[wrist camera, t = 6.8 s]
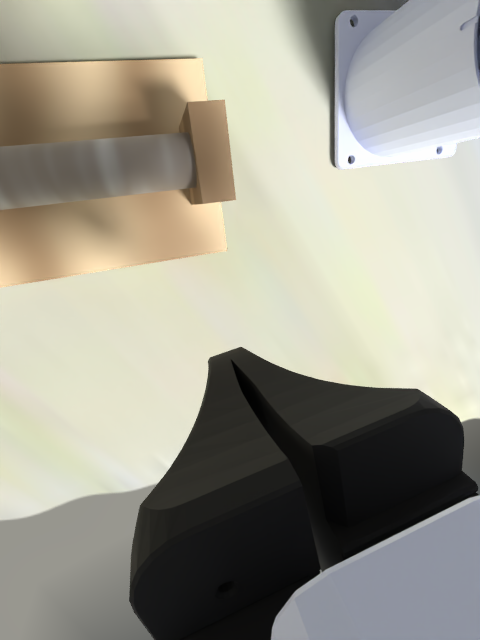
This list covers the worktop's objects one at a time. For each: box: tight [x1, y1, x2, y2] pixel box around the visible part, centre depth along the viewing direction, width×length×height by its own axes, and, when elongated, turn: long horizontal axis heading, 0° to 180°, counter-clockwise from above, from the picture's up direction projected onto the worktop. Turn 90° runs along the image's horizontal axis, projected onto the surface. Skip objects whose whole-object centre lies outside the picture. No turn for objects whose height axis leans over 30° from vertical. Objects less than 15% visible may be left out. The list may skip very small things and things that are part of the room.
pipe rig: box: [0, 58, 236, 288], centre depth 14 cm, size 20×10×5 cm, turn 97°
